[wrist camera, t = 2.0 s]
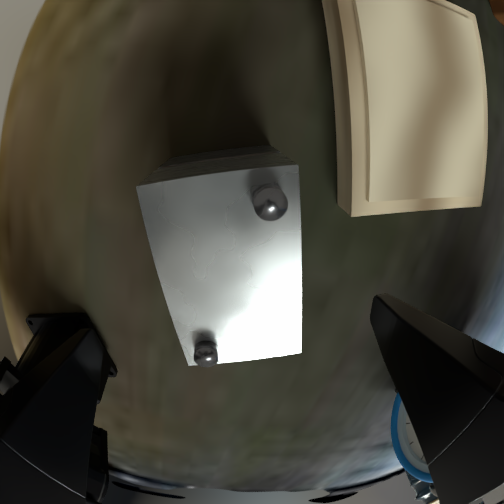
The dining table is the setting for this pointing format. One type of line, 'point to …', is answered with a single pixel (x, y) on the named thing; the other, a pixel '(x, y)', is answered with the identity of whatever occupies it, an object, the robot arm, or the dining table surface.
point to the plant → (498, 9)
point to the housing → (228, 251)
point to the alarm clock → (408, 444)
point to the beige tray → (407, 105)
